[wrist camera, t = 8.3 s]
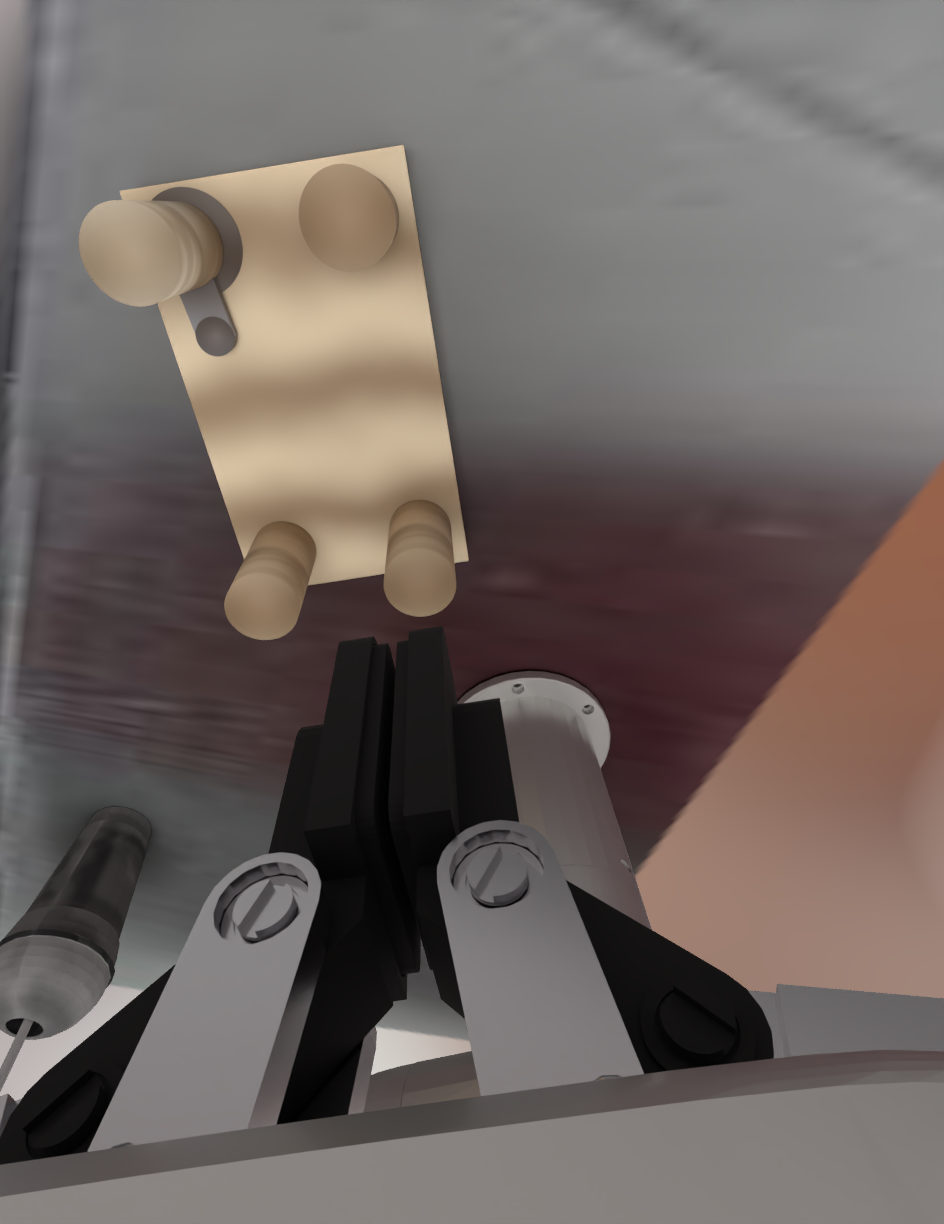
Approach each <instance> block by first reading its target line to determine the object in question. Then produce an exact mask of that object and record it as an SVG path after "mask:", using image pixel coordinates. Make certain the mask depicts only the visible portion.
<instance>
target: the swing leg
mask: <svg viewBox="0 0 944 1224" xmlns="http://www.w3.org/2000/svg"><path fill="white" fill-rule="evenodd" d="M79 249H80V255H81V258H82V261H83V264H84V266H85V268H86V270H87V272H88V274H89V275H90V277H91V279H92V280H93V281H94V282H95V284H96V285H97V286H98V287H99V288H100V289H101V290H102V291H103V292H105V293H106V294H107V295H108V296H110V297H111V298H113V299H115V300H117V301H119V302H121V303H124V304H127V305H131V306H149V305H153V304H156V303H158V302H161V301H164V300H167V299H169V298H172V297H175V296H178V295H180V297H181V300H182V302H183V305H184V307H185V310H186V312H187V315H188V317H189V320H190V322H191V325H192V327H193V330H194V332H195V335H196V340H197V343H198V345H199V346H200V348H201V349H202V350H203V351H204V352H206V353H207V354H209V355H212V356H217V357H218V356H224V355H226V354H227V353H229V352H230V351H231V350H232V349H233V348H234V347H235V345H236V343H237V331H236V329H235V326H234V323H233V321H232V318H231V315H230V313H229V310H228V307H227V305H226V302H225V299H224V297H223V294H222V291H221V289H220V286H219V283H218V281H217V278H216V276H217V274H218V273H219V271H220V269H221V266H222V262H223V244H222V240H221V237H220V234H219V232H218V230H217V228H216V226H215V225H214V223H213V222H212V220H211V219H210V218H209V217H208V216H207V215H206V214H205V213H204V212H203V211H201V210H200V209H198V208H197V207H195V206H193V205H191V204H188V203H185V202H179V201H140V200H112V201H106V202H104V203H101V204H99V205H97V206H96V207H94V208H93V209H92V210H91V211H90V212H89V213H88V214H87V215H86V217H85V219H84V220H83V223H82V225H81V229H80V233H79Z"/></svg>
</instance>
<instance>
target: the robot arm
mask: <svg viewBox="0 0 944 1224" xmlns="http://www.w3.org/2000/svg"><path fill="white" fill-rule="evenodd" d="M610 736H611V735H610V729H609V723H608V720H607V718H606V715H605V712H604V710H603V708H602V706H601V705H600V703H599V701H598V700H597V698H596V697H595V696H594V695H593V694H592V693H591V692H590V691H589V690H588V689H587V688H585V687H583V686H582V685H580V684H579V683H577V682H576V681H574V680H571V679H569V678H566V677H564V676H562V675H558V674H553V673H548V672H539V671H524V672H515V673H509V674H505V675H502V676H498V677H494V678H492V679H490V680H488V681H486V682H483V683H481V684H479V685H478V686H476V687H475V688H473V689H472V690H470V691H469V692H467V693H466V694H465V695H464V696H463V697H462V698H461V699H460V700H459V701H458V702H457V698H456V692H455V687H454V682H453V676H452V671H451V666H450V661H449V655H448V650H447V645H446V639H445V634H444V630H443V627H442V626H440V627H434V628H427V629H421V630H414V631H410V632H409V640H407V641H400V642H397V655H396V671H395V667H394V663H393V658H392V654H391V650H390V647H389V645H388V643H387V644H381V645H377V642H376V640H375V638H374V637H368V638H362V639H355V640H349V641H342V642H340V643H339V646H338V651H337V656H336V662H335V667H334V672H333V677H332V683H331V688H330V693H329V699H328V704H327V709H326V714H325V720H324V724H322V725H316V726H309V727H303V728H301V729H300V730H299V731H298V734H297V737H296V740H295V745H294V749H293V753H292V757H291V762H290V766H289V770H288V774H287V778H286V783H285V787H284V791H283V795H282V799H281V804H280V808H279V812H278V816H277V821H276V825H275V829H274V833H273V837H272V842H271V846H270V850H269V854H266V855H262V856H259V857H257V858H254V859H252V860H249V861H246V862H245V863H243V864H242V865H240V866H238V867H237V868H235V869H234V870H232V871H231V872H229V873H228V874H227V875H226V876H225V877H224V878H223V879H222V880H221V881H220V882H219V883H218V884H217V885H216V886H215V887H214V889H213V891H212V892H211V894H210V895H209V897H208V898H207V900H206V901H205V903H204V906H203V908H202V910H201V912H200V914H199V916H198V918H197V920H196V922H195V925H194V927H193V929H192V931H191V933H190V935H189V937H188V939H187V942H186V944H185V946H184V948H183V950H182V952H181V954H180V956H179V958H178V961H177V963H176V964H175V965H174V966H173V967H172V968H171V969H169V970H168V971H167V972H166V973H165V974H163V975H162V976H161V977H160V978H159V979H157V980H156V981H155V982H154V983H153V984H151V985H150V986H149V987H148V988H147V989H146V990H144V991H143V992H142V993H141V994H140V995H138V996H137V997H136V998H135V999H134V1000H132V1001H131V1002H130V1003H129V1004H128V1005H126V1006H125V1007H124V1008H123V1009H122V1010H121V1011H119V1012H118V1013H117V1014H116V1015H114V1016H113V1017H112V1018H111V1019H110V1020H109V1021H107V1022H106V1023H105V1024H104V1025H103V1026H101V1027H100V1028H99V1029H98V1030H97V1031H95V1032H94V1033H93V1034H92V1035H91V1036H89V1037H88V1038H87V1039H86V1040H85V1041H83V1042H82V1043H81V1044H80V1045H79V1046H78V1047H76V1048H75V1049H74V1050H73V1051H72V1052H70V1053H69V1054H68V1055H67V1056H66V1057H64V1058H63V1059H62V1060H61V1061H60V1062H58V1063H57V1064H56V1065H55V1066H54V1067H53V1068H51V1069H50V1070H49V1071H48V1072H47V1073H46V1074H44V1075H43V1076H42V1077H41V1079H40V1080H39V1081H38V1082H37V1083H36V1084H34V1086H32V1087H31V1088H30V1089H29V1090H28V1091H27V1093H26V1094H25V1095H24V1097H23V1098H22V1099H20V1100H17V1101H14V1099H13V1098H12V1097H11V1096H10V1095H9V1094H6V1095H3V1096H0V1224H944V998H933V997H920V996H910V995H898V994H887V993H875V992H864V991H852V990H841V989H829V988H818V987H806V986H794V985H783V984H777V989H776V993H771V992H759V991H748V990H747V989H746V988H744V987H743V986H742V985H740V984H739V983H738V982H737V981H735V980H734V979H733V978H731V977H730V976H729V975H727V974H726V973H724V972H722V971H720V970H719V969H717V968H715V967H714V966H712V965H710V964H709V963H707V962H705V961H703V960H702V959H700V958H698V957H697V956H695V955H693V954H692V953H690V952H688V951H686V950H685V949H683V948H681V947H680V946H678V945H676V944H675V943H673V942H671V941H669V940H668V939H666V938H664V937H663V936H661V935H659V934H657V933H656V932H654V931H652V929H651V926H650V923H649V920H648V917H647V914H646V910H645V907H644V904H643V902H642V898H641V895H640V892H639V888H638V885H637V882H636V879H635V876H634V873H633V870H632V866H631V863H630V860H629V857H628V854H627V851H626V848H625V844H624V841H623V838H622V835H621V832H620V829H619V826H618V822H617V819H616V816H615V813H614V810H613V807H612V803H611V800H610V797H609V794H608V791H607V788H606V785H605V781H604V778H603V775H602V772H601V767H602V765H603V764H604V762H605V760H606V757H607V754H608V751H609V748H610ZM420 936H421V940H422V943H423V947H424V950H425V954H426V957H427V961H428V964H429V968H430V970H433V972H434V975H435V979H436V983H437V986H438V990H439V993H440V997H441V999H442V1000H443V1001H444V1002H445V1003H446V1004H448V1005H449V1006H450V1007H451V1008H453V1009H454V1010H455V1011H456V1012H457V1013H459V1014H460V1015H461V1016H462V1017H463V1018H465V1020H466V1025H467V1030H468V1035H469V1040H470V1044H471V1050H472V1051H471V1052H465V1053H460V1054H455V1055H450V1056H445V1057H440V1058H436V1059H431V1060H426V1061H421V1062H417V1063H414V1064H409V1065H404V1066H400V1067H396V1068H393V1069H389V1070H385V1071H382V1072H378V1073H376V1074H374V1075H371V1071H372V1065H373V1060H374V1055H375V1050H376V1034H377V1032H376V1028H375V1025H376V1024H377V1023H378V1022H379V1021H380V1020H381V1019H382V1017H383V1016H384V1015H385V1014H386V1013H387V1012H388V1011H389V1010H390V1009H391V1008H392V1006H393V1001H398V1000H405V999H407V974H409V973H416V972H419V971H420Z"/></svg>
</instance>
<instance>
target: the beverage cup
mask: <svg viewBox="0 0 944 1224" xmlns="http://www.w3.org/2000/svg"><path fill="white" fill-rule="evenodd" d="M151 832H152V831H151V825H150V824H149V822H148V820H147V819H146V818H145V817H144V816H143V815H141V814H140V813H138V812H136V811H134V810H132V809H128V808H125V807H108V808H103V809H101V810H100V811H98V812H96V813H95V814H94V816H93V817H92V818H91V820H90V822H89V823H88V824H87V826H86V827H85V828H84V829H83V830H82V831H81V833H80V834H79V836H78V837H77V838H76V840H75V841H74V843H73V844H72V846H71V847H70V849H69V850H68V852H67V853H66V855H65V856H64V858H63V859H62V861H61V862H60V864H59V865H58V866H57V868H56V869H55V871H54V872H53V874H52V875H51V877H50V878H49V880H48V881H47V883H46V884H45V886H44V887H43V889H42V890H41V892H40V893H39V895H38V896H37V897H36V899H35V900H34V902H33V903H32V905H31V906H30V908H29V909H28V911H27V912H26V914H25V915H24V916H23V917H22V918H21V919H20V920H19V921H18V922H17V923H16V925H15V926H14V927H13V928H12V929H11V931H10V932H9V933H8V934H7V935H6V937H5V938H4V939H2V941H1V942H0V1030H2V1031H3V1032H5V1033H6V1034H8V1035H10V1036H13V1037H15V1039H14V1041H13V1043H12V1046H11V1048H10V1050H9V1052H8V1054H7V1056H6V1058H5V1060H4V1062H3V1064H2V1066H1V1069H0V1091H1V1089H2V1087H3V1085H4V1083H5V1081H6V1079H7V1077H8V1074H9V1072H10V1070H11V1068H12V1066H13V1064H14V1062H15V1060H16V1057H17V1055H18V1053H19V1051H20V1049H21V1047H22V1045H23V1042H24V1040H25V1039H27V1040H36V1039H42V1038H47V1037H51V1036H53V1035H56V1034H58V1033H60V1032H63V1031H65V1030H67V1029H69V1028H70V1027H72V1026H74V1025H75V1024H76V1023H77V1022H79V1021H80V1020H81V1019H82V1018H83V1017H84V1016H85V1015H86V1014H87V1013H88V1012H90V1011H91V1010H92V1008H93V1007H94V1006H95V1005H96V1004H97V1003H98V1001H99V999H100V998H101V996H102V995H103V993H104V991H105V989H106V988H107V987H108V986H109V984H110V983H111V981H112V979H113V976H114V973H115V969H114V965H115V962H116V960H117V954H118V949H119V938H120V934H121V931H122V928H123V925H124V922H125V918H126V915H127V912H128V909H129V906H130V902H131V899H132V896H133V893H134V890H135V886H136V883H137V880H138V877H139V874H140V870H141V867H142V864H143V861H144V858H145V854H146V851H147V845H148V841H149V838H150V835H151Z"/></svg>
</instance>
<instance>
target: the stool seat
mask: <svg viewBox="0 0 944 1224" xmlns="http://www.w3.org/2000/svg"><path fill="white" fill-rule="evenodd" d="M120 194H121V197H122V200H140V201H179V202H185V203H188V204H191V205H193V206H195V207H197V208H198V209H200V210H201V211H203V212H204V213H205V214H206V215H207V216H208V217H209V218H210V219H211V220H212V222H213V223H214V225H215V226H216V228H217V230H218V232H219V234H220V237H221V240H222V244H223V262H222V266H221V269H220V271H219V273H218V274H217V276H216V278H217V281H218V283H219V286H220V289H221V291H222V294H223V297H224V299H225V302H226V305H227V307H228V310H229V313H230V315H231V318H232V321H233V323H234V326H235V329H236V331H237V343H236V345H235V347H234V348H233V349H232V350H231V351H230V352H229V353H227V354H226V355H224V356H218V357H217V356H212V355H209V354H207V353H206V352H204V351H203V350H202V349H201V348H200V346H199V345H198V343H197V340H196V335H195V332H194V330H193V327H192V325H191V322H190V320H189V317H188V315H187V312H186V310H185V307H184V305H183V302H182V300H181V297H180V295H178V296H175V297H172V298H169V299H167V300H164V301H161V302H158V306H159V309H160V312H161V315H162V318H163V321H164V324H165V327H166V330H167V333H168V336H169V339H170V342H171V345H172V348H173V351H174V354H175V356H176V359H177V362H178V365H179V368H180V371H181V374H182V377H183V380H184V383H185V386H186V389H187V392H188V395H189V398H190V401H191V404H192V407H193V410H194V413H195V416H196V418H197V421H198V424H199V427H200V430H201V433H202V436H203V439H204V442H205V445H206V448H207V451H208V454H209V457H210V460H211V463H212V466H213V469H214V472H215V475H216V477H217V480H218V483H219V486H220V489H221V492H222V495H223V498H224V501H225V504H226V507H227V510H228V513H229V516H230V519H231V522H232V525H233V528H234V531H235V534H236V536H237V539H238V542H239V545H240V548H241V551H242V554H243V557H244V561H243V563H242V565H241V567H240V569H239V571H238V573H237V575H236V577H235V579H234V581H233V583H232V585H231V587H230V589H229V591H228V593H227V595H226V598H225V603H224V607H225V613H226V616H227V618H228V620H229V621H230V623H231V624H232V625H233V627H235V628H236V629H237V630H238V631H239V632H241V633H242V634H244V635H246V636H248V637H251V638H254V639H259V640H272V639H277V638H280V637H282V636H284V635H286V634H287V633H288V632H290V631H291V630H292V628H293V627H294V626H295V624H296V622H297V619H298V616H299V612H300V609H301V606H302V602H303V599H304V596H305V592H306V589H307V586H308V585H314V584H320V583H327V582H333V581H340V580H346V579H353V578H359V577H366V576H373V575H379V574H384V591H385V595H386V597H387V599H388V600H389V602H390V603H391V604H392V605H393V606H394V607H395V608H396V609H397V610H399V611H401V612H402V613H405V614H407V615H411V616H418V617H422V616H429V615H433V614H436V613H438V612H440V611H441V610H443V609H444V608H445V607H447V605H448V604H449V603H450V602H451V601H452V599H453V597H454V594H455V591H456V575H455V564H454V563H458V562H464V561H469V559H468V552H467V544H466V538H465V531H464V525H463V519H462V512H461V506H460V499H459V493H458V487H457V480H456V474H455V468H454V461H453V455H452V448H451V442H450V436H449V429H448V423H447V417H446V410H445V404H444V397H443V391H442V385H441V378H440V372H439V366H438V359H437V353H436V346H435V340H434V334H433V327H432V321H431V315H430V308H429V302H428V295H427V289H426V283H425V276H424V270H423V264H422V257H421V251H420V244H419V238H418V232H417V225H416V219H415V213H414V206H413V200H412V193H411V187H410V181H409V174H408V168H407V161H406V155H405V149H404V145H400V146H394V147H387V148H381V149H375V150H369V151H363V152H357V153H351V154H344V155H338V156H332V157H326V158H320V159H314V160H308V161H301V162H295V163H289V164H283V165H277V166H271V167H265V168H258V169H252V170H246V171H240V172H234V173H228V174H221V175H215V176H209V177H203V178H197V179H191V180H185V181H178V182H172V183H166V184H160V185H154V186H148V187H142V188H135V189H129V190H123V191H120Z"/></svg>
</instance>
